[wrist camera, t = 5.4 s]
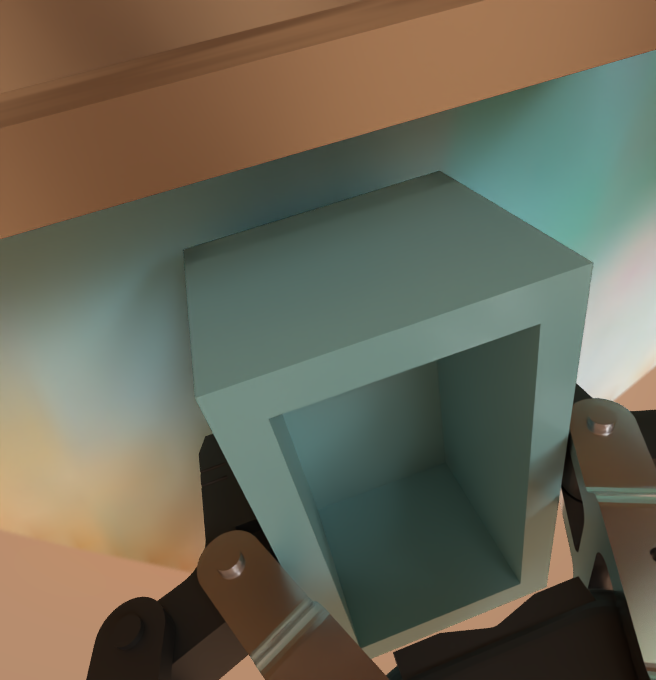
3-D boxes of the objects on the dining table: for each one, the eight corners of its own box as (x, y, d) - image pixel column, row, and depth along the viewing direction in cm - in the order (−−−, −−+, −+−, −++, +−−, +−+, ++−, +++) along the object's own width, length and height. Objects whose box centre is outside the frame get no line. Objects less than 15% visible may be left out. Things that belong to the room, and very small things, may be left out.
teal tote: (439, 170, 11) (592, 262, 7) (457, 451, 17) (546, 587, 13) (183, 249, 11) (195, 398, 7) (294, 512, 16) (336, 673, 13)
